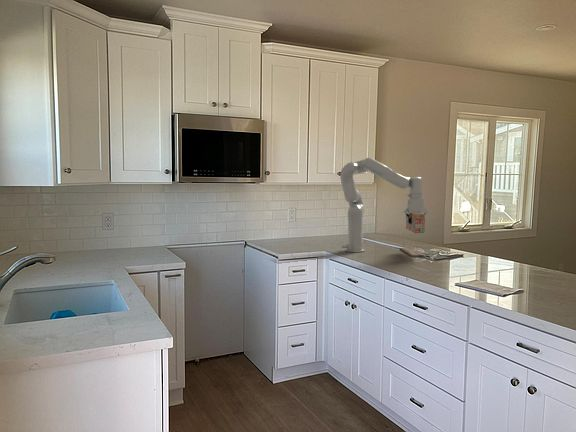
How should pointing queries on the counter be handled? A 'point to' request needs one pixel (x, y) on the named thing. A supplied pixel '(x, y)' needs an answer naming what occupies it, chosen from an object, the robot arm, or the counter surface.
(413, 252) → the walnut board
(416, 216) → the cardboard product box
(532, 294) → the counter surface
